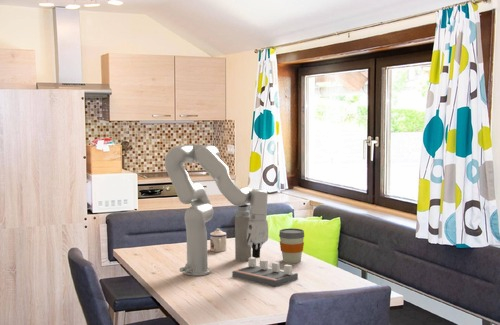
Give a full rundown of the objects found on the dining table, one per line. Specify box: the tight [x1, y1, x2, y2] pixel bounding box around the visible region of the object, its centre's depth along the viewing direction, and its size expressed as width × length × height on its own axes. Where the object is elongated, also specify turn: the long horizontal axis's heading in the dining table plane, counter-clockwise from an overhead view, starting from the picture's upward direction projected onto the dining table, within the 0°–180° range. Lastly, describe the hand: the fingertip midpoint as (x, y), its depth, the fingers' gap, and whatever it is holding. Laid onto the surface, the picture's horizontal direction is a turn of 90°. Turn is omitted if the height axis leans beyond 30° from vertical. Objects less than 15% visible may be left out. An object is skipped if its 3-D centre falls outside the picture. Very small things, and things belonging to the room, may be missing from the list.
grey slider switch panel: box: [231, 256, 299, 288], centre depth 285 cm, size 16×25×7 cm, turn 49°
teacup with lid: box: [209, 228, 228, 253], centre depth 338 cm, size 12×9×12 cm
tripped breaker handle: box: [271, 261, 281, 272], centre depth 285 cm, size 2×3×4 cm, turn 49°
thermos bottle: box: [234, 204, 252, 262], centre depth 318 cm, size 8×8×28 cm
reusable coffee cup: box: [278, 227, 305, 264], centre depth 316 cm, size 12×13×15 cm
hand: (255, 257), depth 285 cm, fingers closed
